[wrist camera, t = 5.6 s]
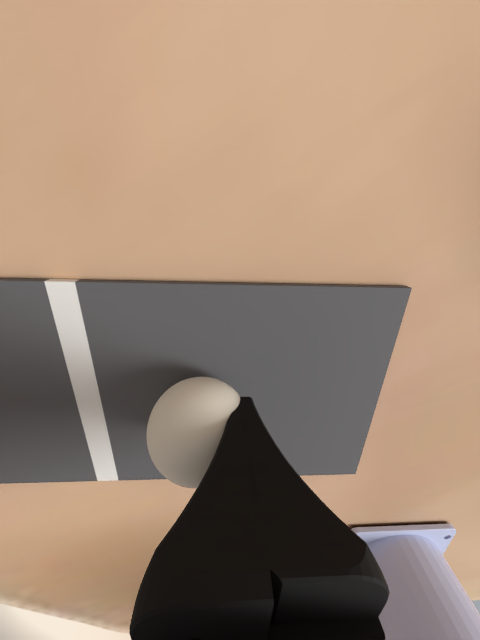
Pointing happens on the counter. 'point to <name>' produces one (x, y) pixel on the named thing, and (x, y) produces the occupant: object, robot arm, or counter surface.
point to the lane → (185, 368)
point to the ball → (189, 428)
